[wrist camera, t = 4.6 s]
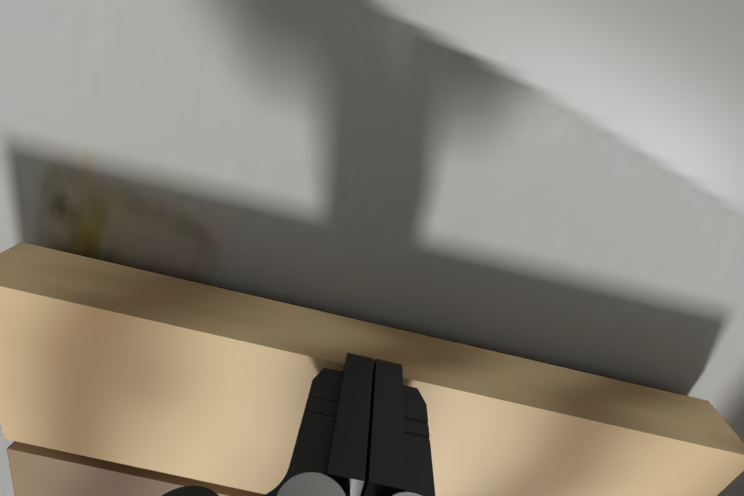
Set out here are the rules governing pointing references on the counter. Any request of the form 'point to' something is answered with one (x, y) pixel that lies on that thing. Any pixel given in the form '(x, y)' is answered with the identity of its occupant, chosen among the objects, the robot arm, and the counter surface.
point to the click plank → (292, 385)
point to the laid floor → (92, 476)
